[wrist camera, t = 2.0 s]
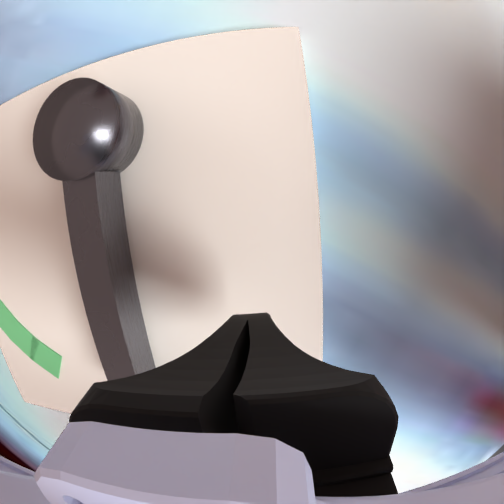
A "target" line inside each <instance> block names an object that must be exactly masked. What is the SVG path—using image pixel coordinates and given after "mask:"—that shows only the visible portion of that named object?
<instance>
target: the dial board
mask: <svg viewBox="0 0 504 504" xmlns="http://www.w3.org/2000/svg"><path fill="white" fill-rule="evenodd" d="M75 78H91V79H94V80H96V81H98V82H100V83H102V84H104V85H106V86H108V87H110V88H112V89H113V90H115V91H117V92H119V93H121V94H123V95H125V96H126V97H128V98H130V99H131V100H132V101H133V102H134V103H135V104H136V105H137V107H138V108H139V110H140V113H141V115H142V119H143V125H144V133H143V140H142V144H141V147H140V149H139V151H138V154H137V155H136V157H135V159H134V160H133V161H132V163H131V164H130V165H129V166H128V167H127V168H126V169H125V170H124V171H122V172H121V173H120V177H121V187H122V196H123V205H124V213H125V220H126V227H127V234H128V241H129V247H130V253H131V259H132V265H133V270H134V276H135V281H136V286H137V291H138V296H139V301H140V305H141V310H142V315H143V319H144V323H145V328H146V332H147V336H148V340H149V344H150V348H151V352H152V356H153V359H154V363H155V367H156V368H157V367H159V366H161V365H164V364H166V363H168V362H170V361H173V360H175V359H177V358H178V357H180V356H182V355H184V354H185V353H187V352H189V351H190V350H192V349H193V348H195V347H196V346H198V345H199V344H200V343H202V342H203V341H204V340H205V339H207V338H208V337H209V336H211V335H212V334H213V333H214V332H215V331H216V330H217V329H218V328H220V327H221V326H222V325H223V324H224V323H225V322H226V321H227V320H228V319H229V318H230V317H231V316H232V315H236V314H252V313H268V314H270V316H271V318H272V320H273V322H274V323H275V324H276V326H277V327H278V328H279V330H280V331H281V332H282V333H283V334H284V335H285V336H286V337H287V338H288V339H289V340H290V341H291V342H292V343H293V344H294V345H295V346H297V347H298V348H299V349H301V350H302V351H304V352H305V353H307V354H309V355H310V356H312V357H314V358H316V359H318V360H320V361H322V362H323V289H322V255H321V233H320V214H319V199H318V185H317V172H316V160H315V149H314V139H313V129H312V120H311V111H310V103H309V95H308V87H307V80H306V72H305V65H304V59H303V52H302V46H301V39H300V33H299V28H298V27H276V28H259V29H247V30H237V31H229V32H221V33H214V34H207V35H201V36H195V37H190V38H184V39H179V40H174V41H170V42H165V43H161V44H156V45H152V46H148V47H144V48H141V49H137V50H133V51H130V52H126V53H123V54H120V55H116V56H113V57H110V58H107V59H104V60H101V61H98V62H95V63H92V64H89V65H87V66H84V67H81V68H79V69H76V70H73V71H71V72H68V73H66V74H64V75H61V76H59V77H56V78H54V79H52V80H50V81H47V82H45V83H43V84H41V85H39V86H36V87H34V88H32V89H30V90H28V91H26V92H24V93H22V94H20V95H18V96H16V97H14V98H13V99H11V100H9V101H7V102H5V103H3V104H2V105H0V348H1V350H2V353H3V355H4V358H5V360H6V363H7V365H8V367H9V370H10V372H11V374H12V376H13V379H14V381H15V383H16V385H17V387H18V389H19V391H20V393H21V395H22V397H23V399H24V401H25V402H27V403H31V404H34V405H38V406H42V407H46V408H50V409H54V410H58V411H62V412H67V413H72V411H73V410H74V409H75V407H76V406H77V405H78V403H79V402H80V400H81V399H82V398H83V396H84V395H85V394H86V392H87V391H88V390H89V388H90V387H91V386H92V385H93V383H96V382H103V381H107V378H106V375H105V372H104V370H103V367H102V364H101V361H100V358H99V355H98V352H97V349H96V346H95V342H94V339H93V336H92V332H91V329H90V326H89V322H88V318H87V315H86V311H85V307H84V303H83V299H82V295H81V291H80V287H79V283H78V278H77V274H76V269H75V264H74V259H73V254H72V248H71V243H70V237H69V231H68V224H67V217H66V210H65V202H64V193H63V183H62V181H60V180H56V179H53V178H51V177H50V176H48V175H47V174H46V173H45V172H44V171H43V170H42V169H41V167H40V166H39V164H38V162H37V160H36V157H35V154H34V149H33V130H34V125H35V121H36V118H37V115H38V113H39V110H40V108H41V107H42V105H43V103H44V102H45V100H46V99H47V97H48V96H49V95H50V94H51V93H52V92H53V91H54V90H55V89H56V88H57V87H59V86H60V85H61V84H63V83H65V82H67V81H69V80H72V79H75Z"/></svg>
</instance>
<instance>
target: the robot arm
mask: <svg viewBox="0 0 504 504" xmlns="http://www.w3.org/2000/svg"><path fill="white" fill-rule="evenodd" d="M397 426H398V414H397V411H396V408H395V406H394V404H393V402H392V400H391V398H390V396H389V395H388V393H387V392H386V390H385V389H384V387H383V386H382V385H381V384H380V382H379V381H378V380H377V378H376V377H375V376H374V375H371V374H365V373H360V372H354V371H349V370H345V369H342V368H339V367H336V366H332V365H330V364H327V363H325V362H322V361H320V360H318V359H316V358H314V357H312V356H310V355H309V354H307V353H305V352H304V351H302V350H301V349H299V348H298V347H297V346H295V345H294V344H293V343H292V342H291V341H290V340H289V339H288V338H287V337H286V336H285V335H284V334H283V333H282V332H281V331H280V330H279V328H278V327H277V326H276V324H275V323H274V322H273V320H272V318H271V316H270V314H268V313H252V314H236V315H232V316H231V317H230V318H229V319H228V320H227V321H226V322H225V323H224V324H223V325H222V326H221V327H220V328H218V329H217V330H216V331H215V332H214V333H213V334H212V335H211V336H209V337H208V338H207V339H205V340H204V341H203V342H202V343H200V344H199V345H198V346H196V347H195V348H193V349H192V350H190V351H189V352H187V353H185V354H184V355H182V356H180V357H178V358H177V359H175V360H173V361H170V362H168V363H166V364H164V365H161V366H159V367H157V368H154V369H152V370H149V371H146V372H143V373H140V374H136V375H133V376H129V377H125V378H120V379H115V380H109V381H103V382H96V383H93V385H92V386H91V387H90V388H89V390H88V391H87V392H86V394H85V395H84V396H83V398H82V399H81V400H80V402H79V403H78V405H77V406H76V407H75V409H74V410H73V411H72V413H71V416H70V419H69V424H68V425H67V427H66V428H65V429H64V431H63V432H62V434H61V435H60V436H59V438H58V439H57V441H56V442H55V444H54V445H53V447H52V448H51V449H50V451H49V452H48V454H47V455H46V457H45V458H44V460H43V461H42V463H41V464H40V466H39V467H38V469H37V470H36V472H33V471H31V470H29V469H27V468H24V467H22V466H20V465H18V464H16V463H13V462H11V461H9V460H7V459H5V458H3V457H1V456H0V504H504V452H502V453H500V454H498V455H497V456H495V457H493V458H491V459H489V460H487V461H484V462H482V463H480V464H478V465H476V466H474V467H471V468H469V469H467V470H465V471H462V472H460V473H457V474H455V475H452V476H450V477H447V478H445V479H442V480H439V481H437V482H434V483H431V484H428V485H425V486H422V487H419V488H416V489H413V490H409V491H406V492H403V493H399V494H398V492H397V489H396V486H395V483H394V481H393V478H392V475H391V472H392V470H393V464H392V461H391V459H390V456H389V454H390V451H391V447H392V444H393V441H394V437H395V434H396V430H397Z"/></svg>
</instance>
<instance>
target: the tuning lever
mask: <svg viewBox="0 0 504 504" xmlns="http://www.w3.org/2000/svg"><path fill="white" fill-rule="evenodd" d="M143 133H144V125H143V119H142V115H141V113H140V110H139V108H138V107H137V105H136V104H135V103H134V102H133V101H132V100H131V99H130V98H128V97H126V96H125V95H123V94H121V93H119V92H117V91H115V90H113V89H112V88H110V87H108V86H106V85H104V84H102V83H100V82H98V81H96V80H94V79H91V78H75V79H72V80H69V81H67V82H65V83H63V84H61V85H60V86H59V87H57V88H56V89H55V90H54V91H53V92H52V93H51V94H50V95H49V96H48V97H47V99H46V100H45V102H44V103H43V105H42V107H41V108H40V110H39V113H38V115H37V118H36V121H35V125H34V130H33V149H34V154H35V157H36V160H37V162H38V164H39V166H40V167H41V169H42V170H43V171H44V172H45V173H46V174H47V175H48V176H50V177H51V178H53V179H56V180H60V181H62V183H63V193H64V202H65V210H66V217H67V224H68V231H69V237H70V243H71V248H72V254H73V259H74V264H75V269H76V274H77V278H78V283H79V287H80V291H81V295H82V299H83V303H84V307H85V311H86V315H87V318H88V322H89V326H90V329H91V332H92V336H93V339H94V342H95V346H96V349H97V352H98V355H99V358H100V361H101V364H102V367H103V370H104V372H105V375H106V378H107V381H109V380H115V379H120V378H125V377H129V376H133V375H136V374H140V373H143V372H146V371H149V370H152V369H154V368H156V367H155V363H154V359H153V356H152V352H151V348H150V344H149V340H148V336H147V332H146V328H145V323H144V319H143V315H142V310H141V305H140V301H139V296H138V291H137V286H136V281H135V276H134V270H133V265H132V259H131V253H130V247H129V241H128V234H127V227H126V220H125V213H124V205H123V196H122V187H121V177H120V173H121V172H122V171H124V170H125V169H126V168H127V167H128V166H129V165H130V164H131V163H132V161H133V160H134V159H135V157H136V155H137V154H138V151H139V149H140V147H141V144H142V140H143Z"/></svg>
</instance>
